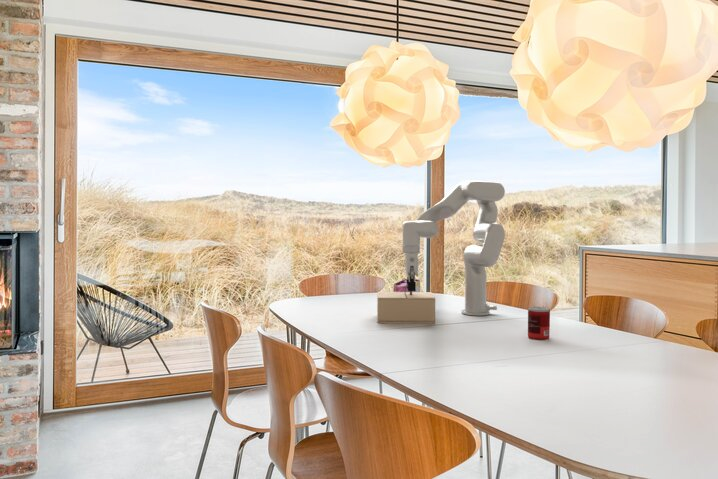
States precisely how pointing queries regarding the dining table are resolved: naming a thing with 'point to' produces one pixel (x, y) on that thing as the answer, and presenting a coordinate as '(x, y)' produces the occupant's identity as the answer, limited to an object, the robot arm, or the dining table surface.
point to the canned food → (538, 323)
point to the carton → (404, 309)
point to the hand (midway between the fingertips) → (411, 289)
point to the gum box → (405, 286)
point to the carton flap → (419, 295)
